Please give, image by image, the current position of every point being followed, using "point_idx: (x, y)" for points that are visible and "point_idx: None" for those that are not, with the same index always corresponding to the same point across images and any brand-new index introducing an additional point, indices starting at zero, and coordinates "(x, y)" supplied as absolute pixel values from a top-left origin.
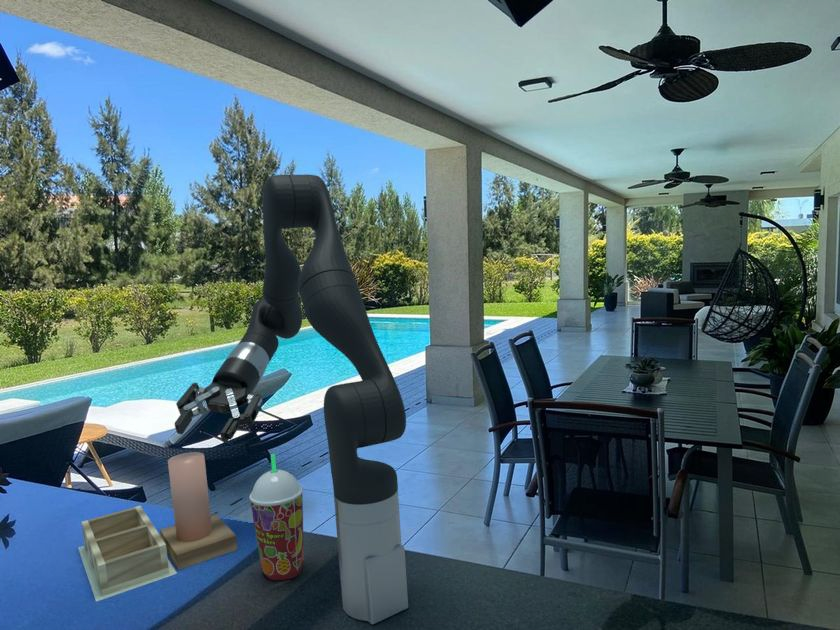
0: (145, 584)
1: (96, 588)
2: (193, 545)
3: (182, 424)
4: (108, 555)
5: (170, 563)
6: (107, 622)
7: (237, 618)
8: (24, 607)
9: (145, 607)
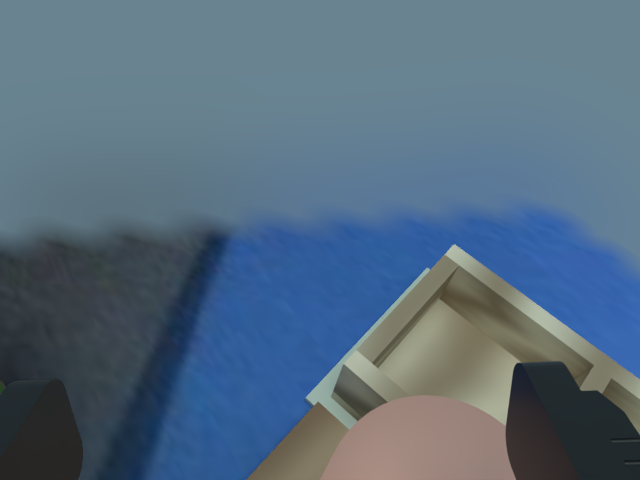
0: (360, 339)
1: None
2: (299, 470)
3: (535, 429)
4: None
5: None
6: (346, 219)
7: (50, 247)
8: (574, 250)
9: (298, 268)
